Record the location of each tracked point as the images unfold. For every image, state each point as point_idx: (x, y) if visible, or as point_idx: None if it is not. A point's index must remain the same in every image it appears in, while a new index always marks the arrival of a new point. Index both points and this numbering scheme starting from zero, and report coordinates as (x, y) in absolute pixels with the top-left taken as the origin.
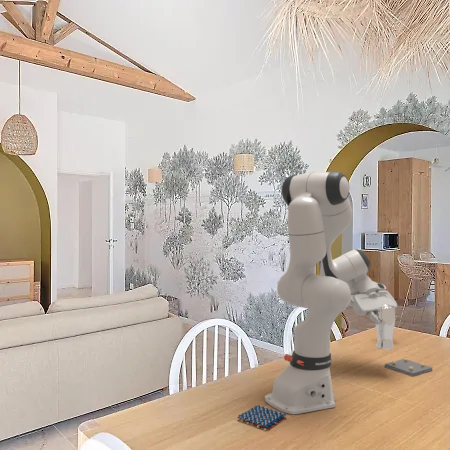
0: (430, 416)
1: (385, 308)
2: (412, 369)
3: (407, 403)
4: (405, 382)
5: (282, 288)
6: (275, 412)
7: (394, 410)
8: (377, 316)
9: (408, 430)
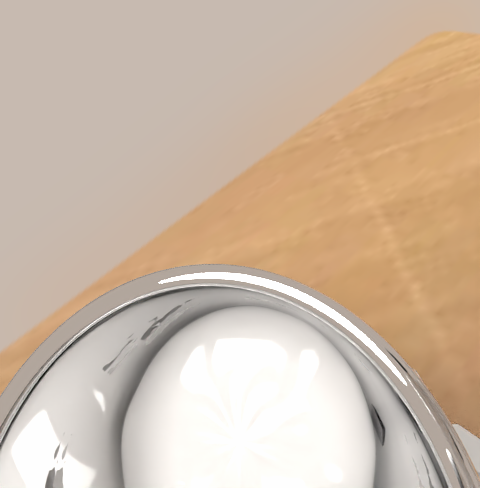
0: (369, 111)
1: (360, 323)
2: None
3: (370, 176)
4: None
5: None
6: None
7: (439, 156)
8: (402, 465)
9: (474, 78)
